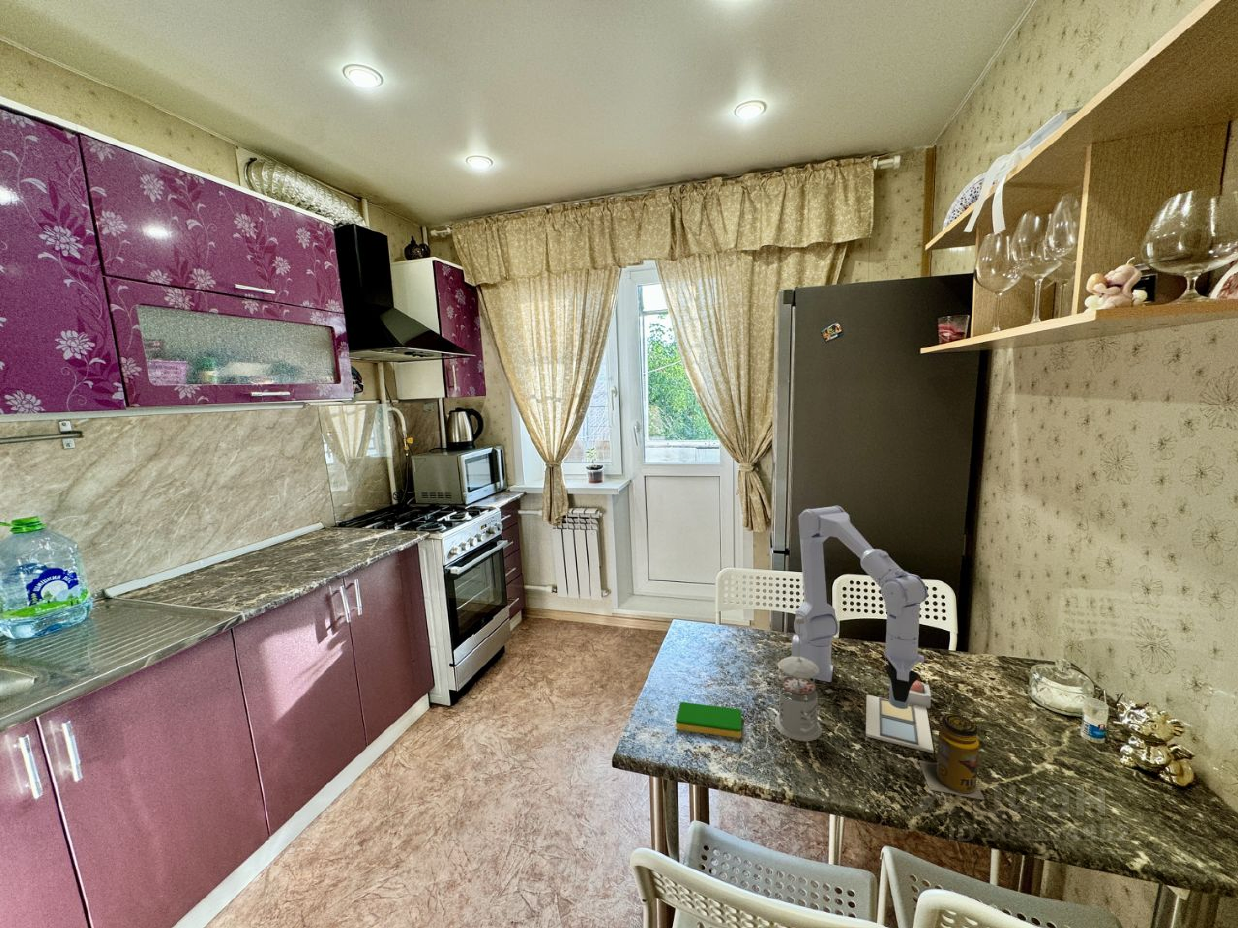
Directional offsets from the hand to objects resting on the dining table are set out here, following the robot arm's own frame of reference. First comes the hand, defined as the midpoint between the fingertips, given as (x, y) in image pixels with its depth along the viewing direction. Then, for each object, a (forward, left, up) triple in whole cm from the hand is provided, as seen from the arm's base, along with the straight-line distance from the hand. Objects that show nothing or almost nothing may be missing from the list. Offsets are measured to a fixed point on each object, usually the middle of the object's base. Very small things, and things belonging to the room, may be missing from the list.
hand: (899, 694), depth 102 cm
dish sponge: (-37, -13, -9) cm, 40 cm away
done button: (+4, +15, -9) cm, 17 cm away
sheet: (0, +4, -9) cm, 9 cm away
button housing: (+4, +15, -9) cm, 17 cm away
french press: (-19, -5, -9) cm, 22 cm away
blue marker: (0, 0, -2) cm, 2 cm away
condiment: (+8, -10, -9) cm, 16 cm away
